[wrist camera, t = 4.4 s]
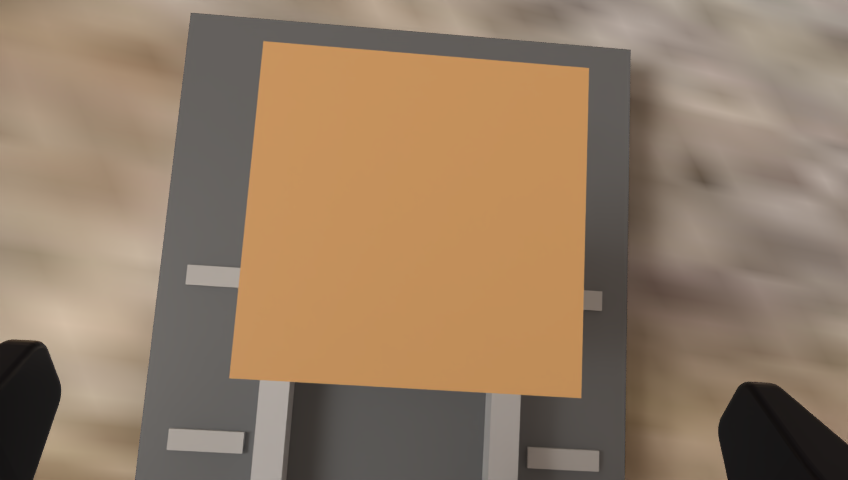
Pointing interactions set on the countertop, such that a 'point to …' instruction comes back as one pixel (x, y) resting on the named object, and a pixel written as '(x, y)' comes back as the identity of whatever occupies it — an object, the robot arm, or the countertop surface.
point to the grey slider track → (349, 404)
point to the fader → (414, 223)
